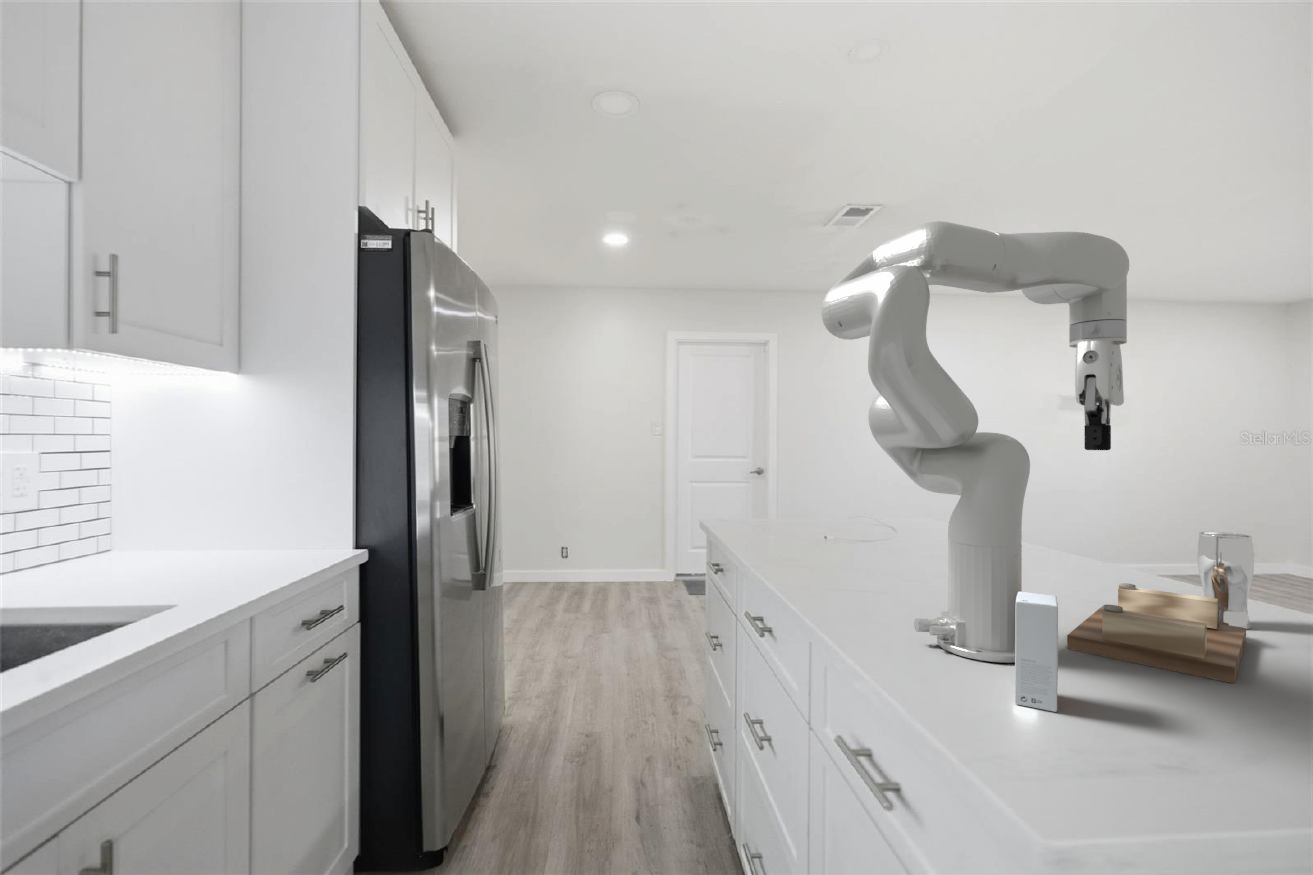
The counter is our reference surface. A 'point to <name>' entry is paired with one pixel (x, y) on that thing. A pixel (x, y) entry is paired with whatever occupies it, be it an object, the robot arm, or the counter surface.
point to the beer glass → (1227, 573)
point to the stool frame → (1162, 642)
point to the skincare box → (1036, 650)
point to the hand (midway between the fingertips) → (1097, 449)
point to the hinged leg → (1169, 604)
